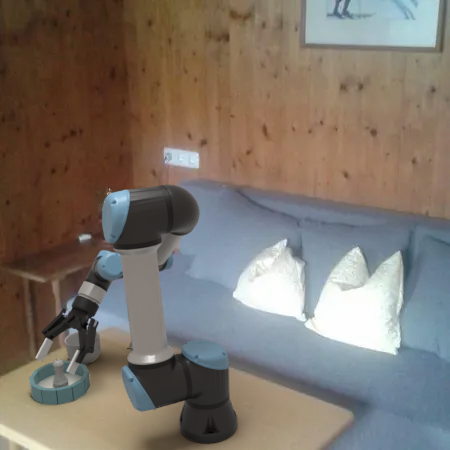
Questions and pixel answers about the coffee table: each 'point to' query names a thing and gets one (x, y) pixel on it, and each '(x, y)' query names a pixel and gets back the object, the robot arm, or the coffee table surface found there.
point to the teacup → (73, 346)
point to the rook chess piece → (59, 374)
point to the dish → (50, 395)
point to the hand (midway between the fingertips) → (54, 366)
